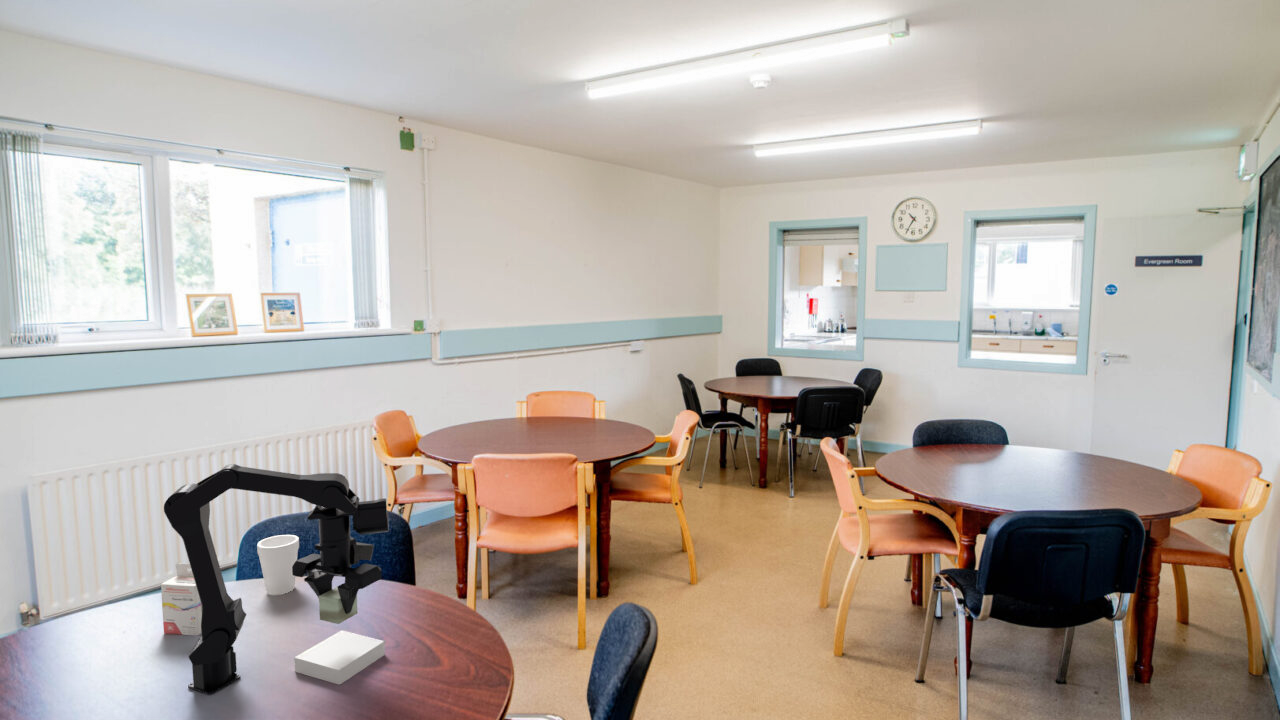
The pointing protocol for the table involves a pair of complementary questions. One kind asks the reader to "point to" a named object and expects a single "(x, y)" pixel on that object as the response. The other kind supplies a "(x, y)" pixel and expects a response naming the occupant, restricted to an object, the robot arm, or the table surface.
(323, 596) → the sage cube
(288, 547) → the foam cup
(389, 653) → the table surface
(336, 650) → the white block
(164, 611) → the ink cartridge box
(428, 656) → the table surface
